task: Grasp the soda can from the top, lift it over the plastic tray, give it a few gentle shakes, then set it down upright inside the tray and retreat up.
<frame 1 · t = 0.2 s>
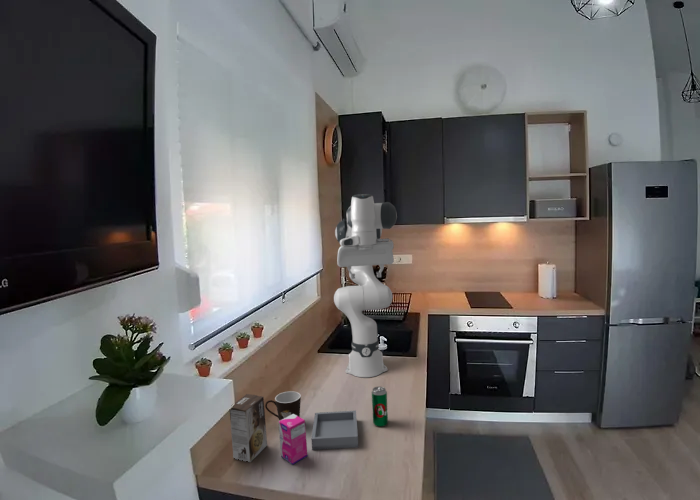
hand: (366, 277, 144), 47 cm above the worktop, tool pointing down, fingers open, 8 cm apart
supplement box: (294, 457, 118), on the worktop
soda can: (380, 424, 134), on the worktop
coffee mug: (286, 424, 137), on the worktop
tray: (335, 434, 129), on the worktop
coffee box: (250, 452, 121), on the worktop
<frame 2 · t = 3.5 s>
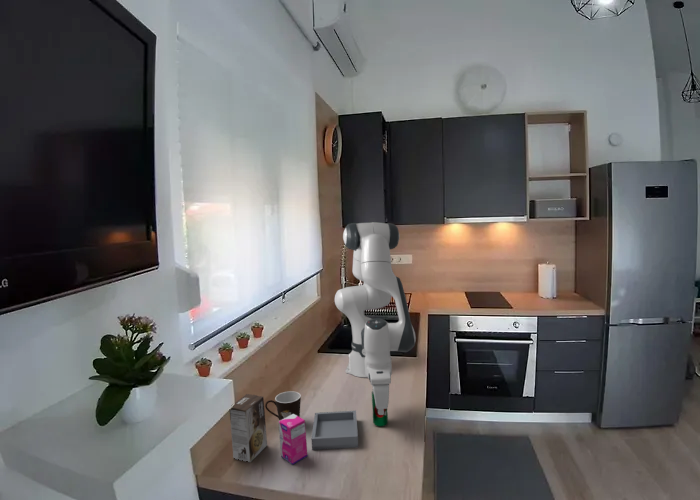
hand: (379, 408, 134), 5 cm above the worktop, tool pointing down, fingers closed on soda can, 5 cm apart
soda can: (380, 424, 134), on the worktop, touching gripper
everything else where it was.
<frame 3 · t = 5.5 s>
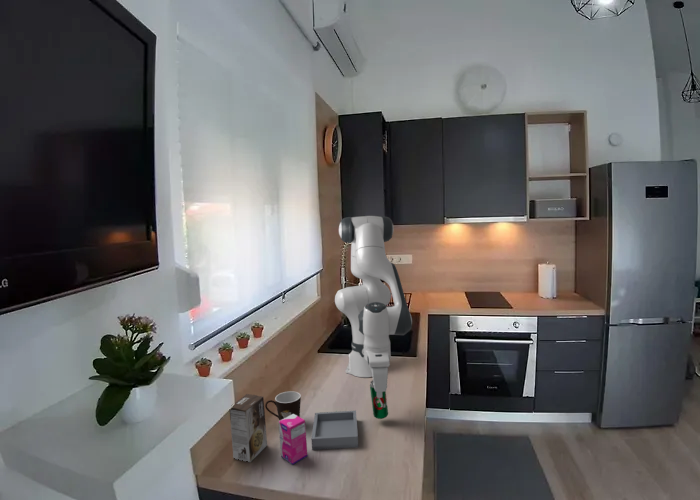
hand: (378, 392, 133), 11 cm above the worktop, tool pointing down, fingers closed on soda can, 5 cm apart
soda can: (381, 416, 134), point 2 cm above the worktop, touching gripper
everything else where it was.
when the fingers open (8 cm above the worktop, at t = 12.9 s): soda can stays where it is, resting on tray.
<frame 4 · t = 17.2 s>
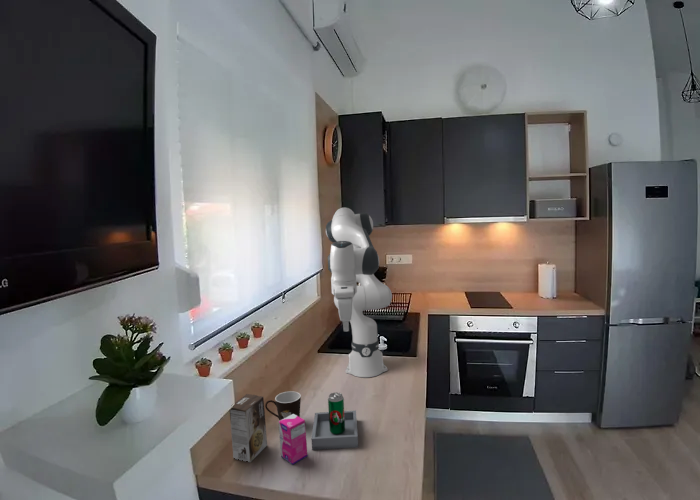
hand: (346, 327, 140), 31 cm above the worktop, tool pointing down, fingers open, 8 cm apart
soda can: (337, 431, 129), point 1 cm above the worktop, touching tray
everything else where it was.
at the end: soda can inside the target area on the tray (0.7 cm from its centre), point 0.8 cm above the tray's base; soda can touching tray; soda can tilted 0° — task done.
